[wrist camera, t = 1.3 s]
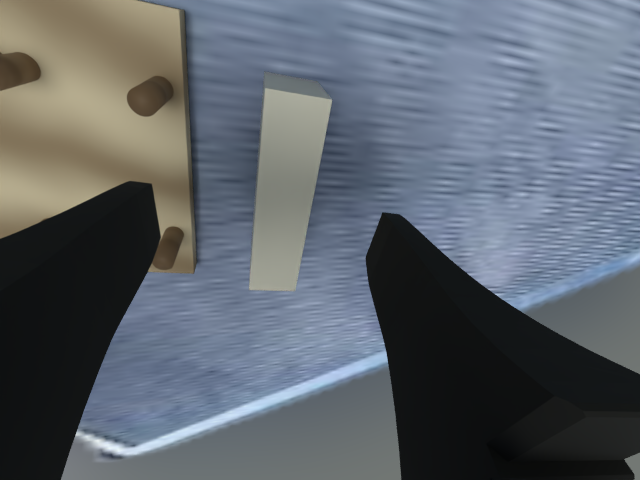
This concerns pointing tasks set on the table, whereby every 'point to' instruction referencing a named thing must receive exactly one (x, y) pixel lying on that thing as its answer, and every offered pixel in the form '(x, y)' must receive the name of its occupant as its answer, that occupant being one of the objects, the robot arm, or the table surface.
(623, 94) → the table surface
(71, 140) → the peg rack
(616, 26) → the table surface
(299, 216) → the clay bar
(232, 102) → the table surface
